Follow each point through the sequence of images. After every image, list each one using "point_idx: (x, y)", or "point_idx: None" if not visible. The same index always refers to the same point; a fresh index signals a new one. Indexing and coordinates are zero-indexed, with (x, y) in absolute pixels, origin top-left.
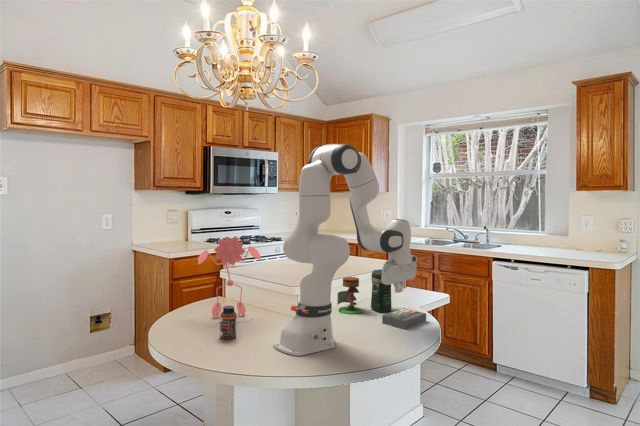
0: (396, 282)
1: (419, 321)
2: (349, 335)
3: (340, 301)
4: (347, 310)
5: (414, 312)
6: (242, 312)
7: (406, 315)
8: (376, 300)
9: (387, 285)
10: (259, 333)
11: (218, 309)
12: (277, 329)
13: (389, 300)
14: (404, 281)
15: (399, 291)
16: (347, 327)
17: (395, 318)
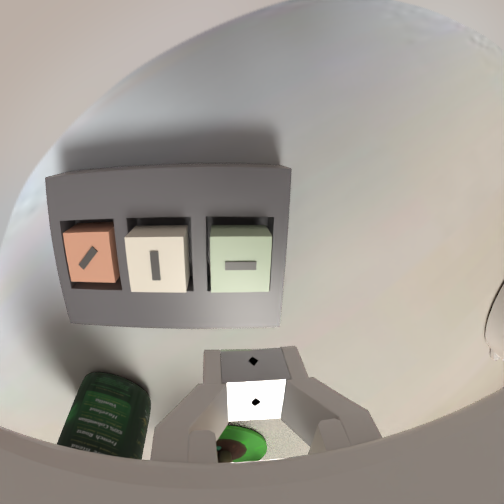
0: (459, 413)
1: (124, 167)
2: (464, 283)
3: None
4: (245, 449)
5: (88, 231)
6: None
7: (178, 229)
8: (144, 440)
9: None
10: (493, 392)
11: None
12: (470, 400)
13: (90, 409)
14: (155, 452)
15: (278, 352)
16: (403, 345)
17: (285, 241)
